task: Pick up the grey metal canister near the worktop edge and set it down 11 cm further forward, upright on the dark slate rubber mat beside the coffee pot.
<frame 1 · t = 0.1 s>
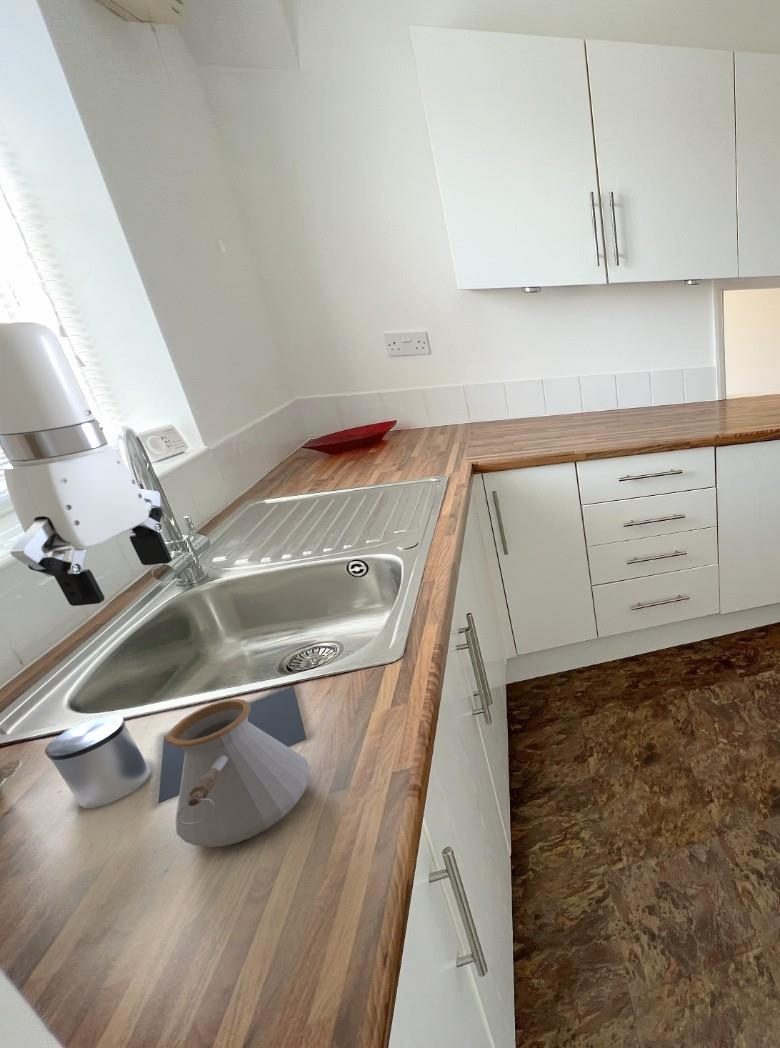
hand: (125, 582, 69), 21 cm above the worktop, tool pointing down, fingers open, 9 cm apart
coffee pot: (256, 846, 60), on the worktop
canister: (117, 788, 68), on the worktop
mat: (235, 739, 74), on the worktop
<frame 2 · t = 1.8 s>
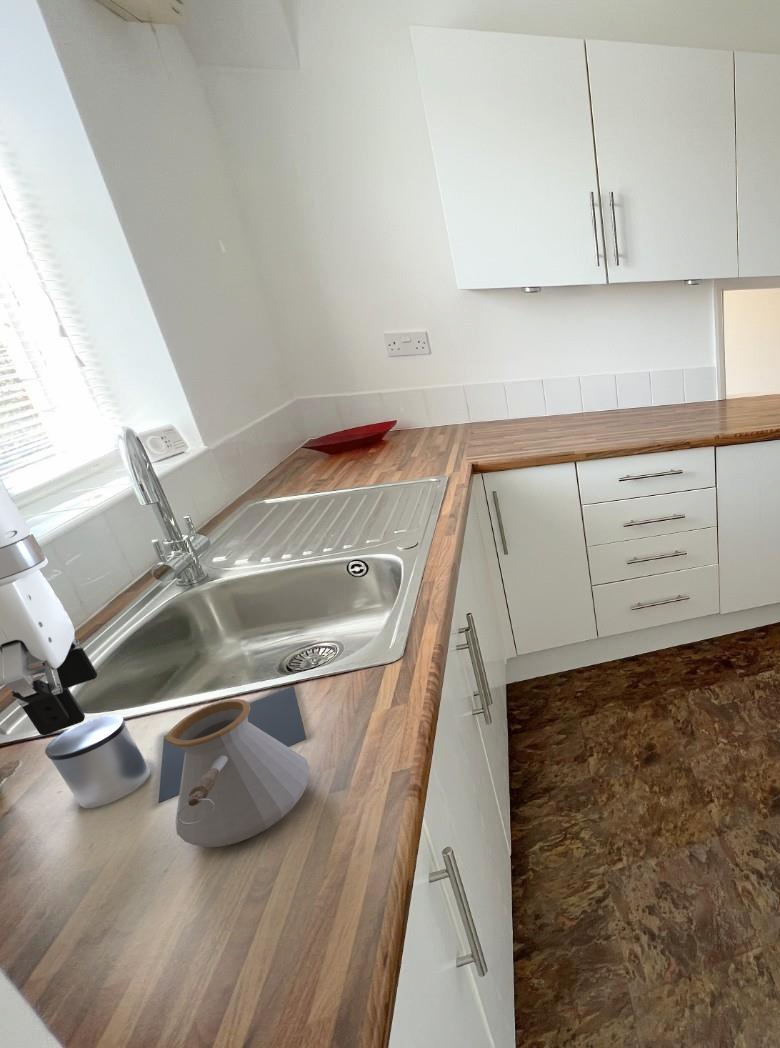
hand: (72, 703, 63), 12 cm above the worktop, tool pointing down, fingers open, 9 cm apart
nothing on the worktop moved.
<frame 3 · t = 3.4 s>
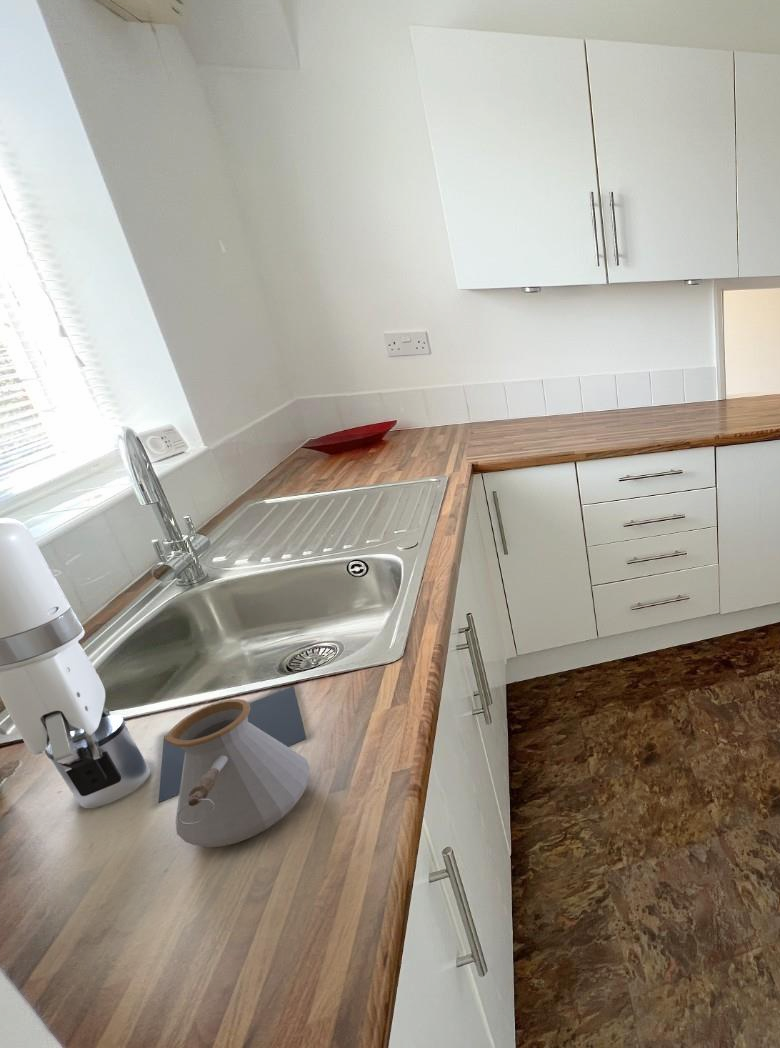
hand: (105, 768, 66), 3 cm above the worktop, tool pointing down, fingers closed on canister, 6 cm apart
canister: (117, 788, 68), on the worktop, touching gripper
everything else where it was.
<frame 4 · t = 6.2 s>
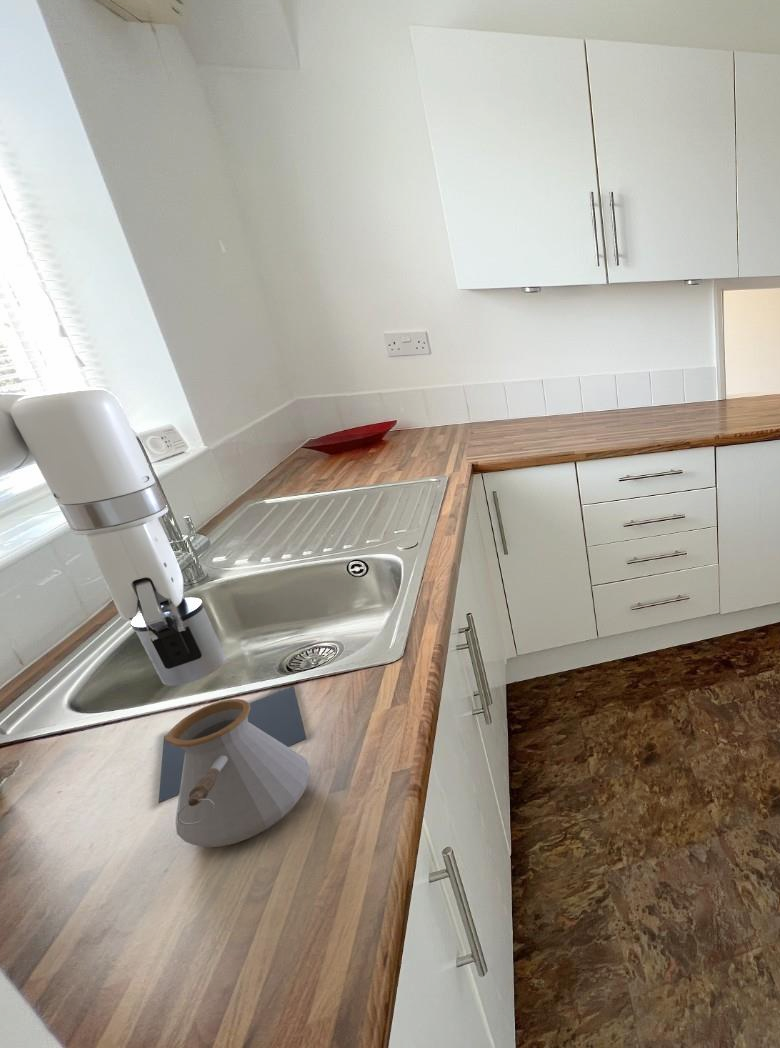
hand: (184, 648, 68), 14 cm above the worktop, tool pointing down, fingers closed on canister, 6 cm apart
canister: (195, 669, 69), point 11 cm above the worktop, touching gripper
everything else where it was.
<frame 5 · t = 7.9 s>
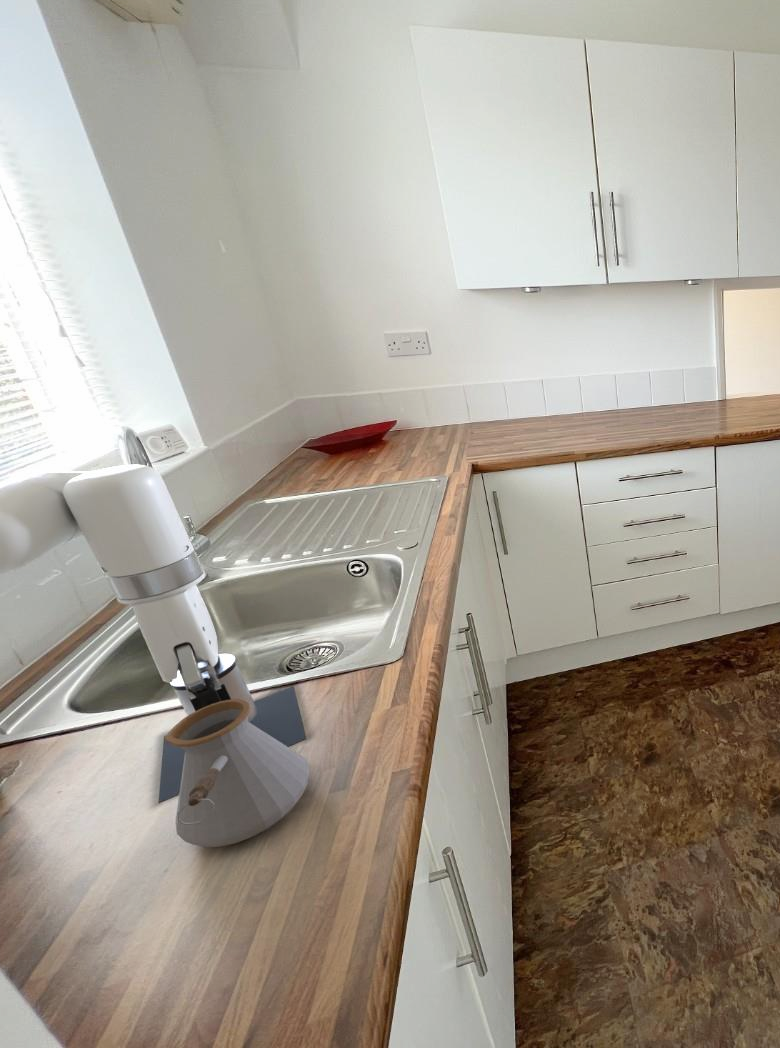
hand: (218, 702, 72), 6 cm above the worktop, tool pointing down, fingers closed on canister, 6 cm apart
canister: (228, 721, 73), point 3 cm above the worktop, touching gripper
everything else where it was.
when the fingers open (3 cm above the worktop, at t = 9.1 s): canister stays where it is, resting on mat.
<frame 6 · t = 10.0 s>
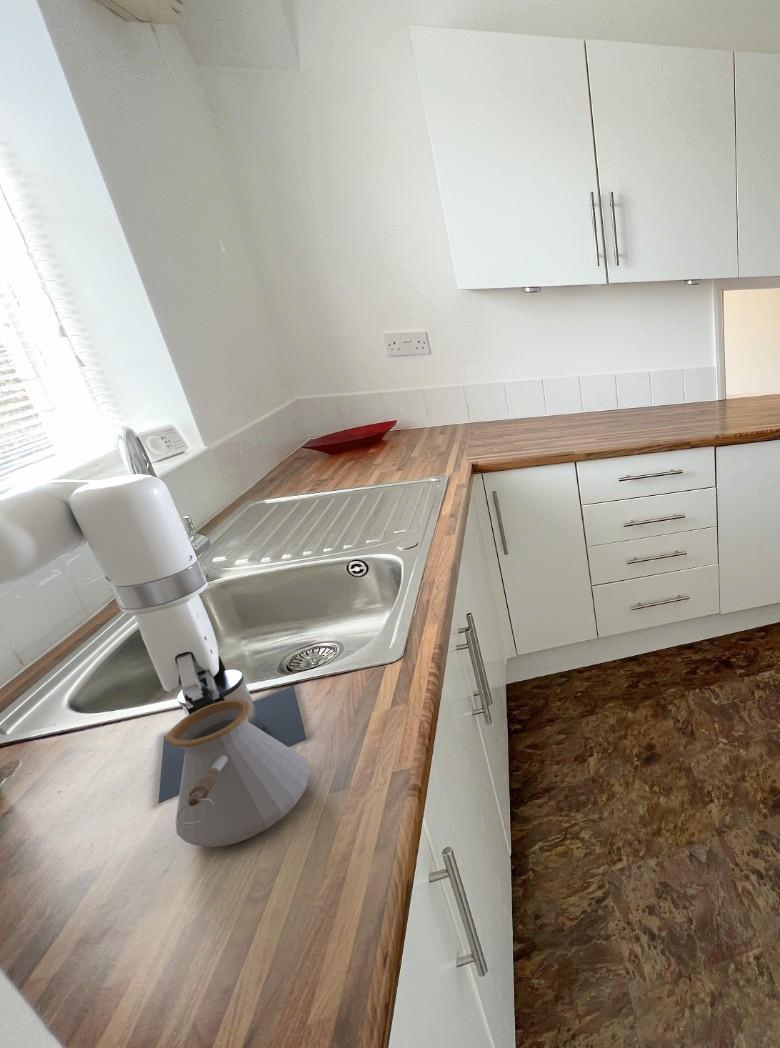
hand: (216, 706, 72), 5 cm above the worktop, tool pointing down, fingers open, 9 cm apart
canister: (234, 737, 74), resting on mat
everything else where it was.
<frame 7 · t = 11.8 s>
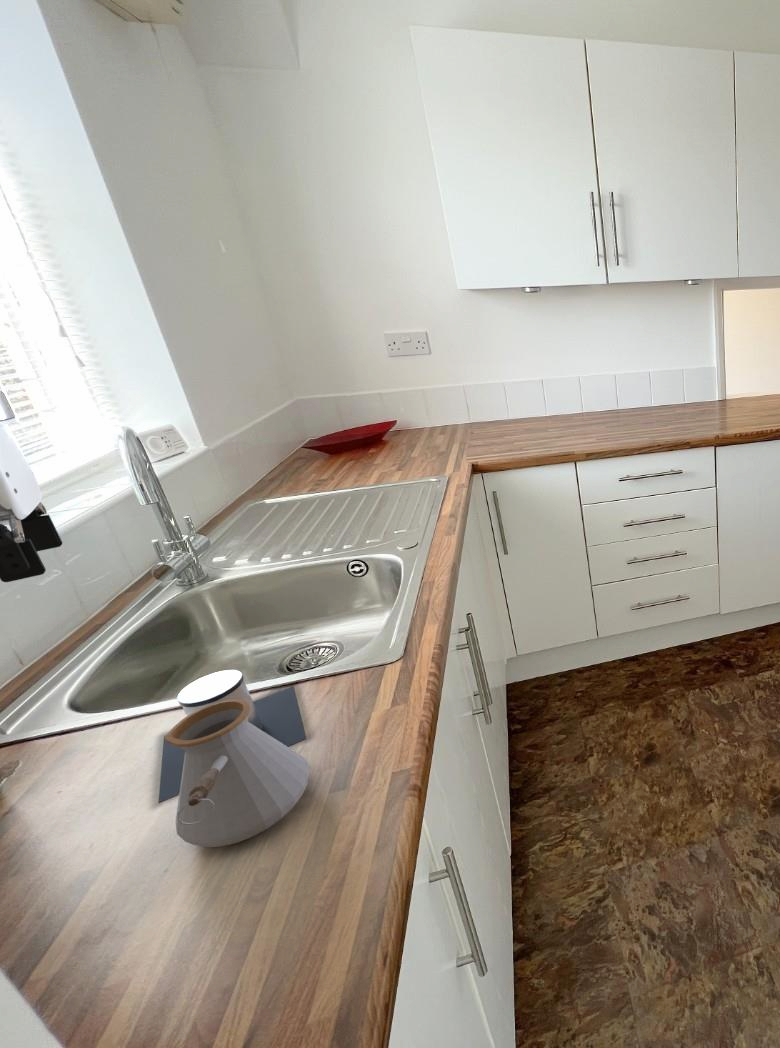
hand: (35, 562, 66), 25 cm above the worktop, tool pointing down, fingers open, 9 cm apart
nothing on the worktop moved.
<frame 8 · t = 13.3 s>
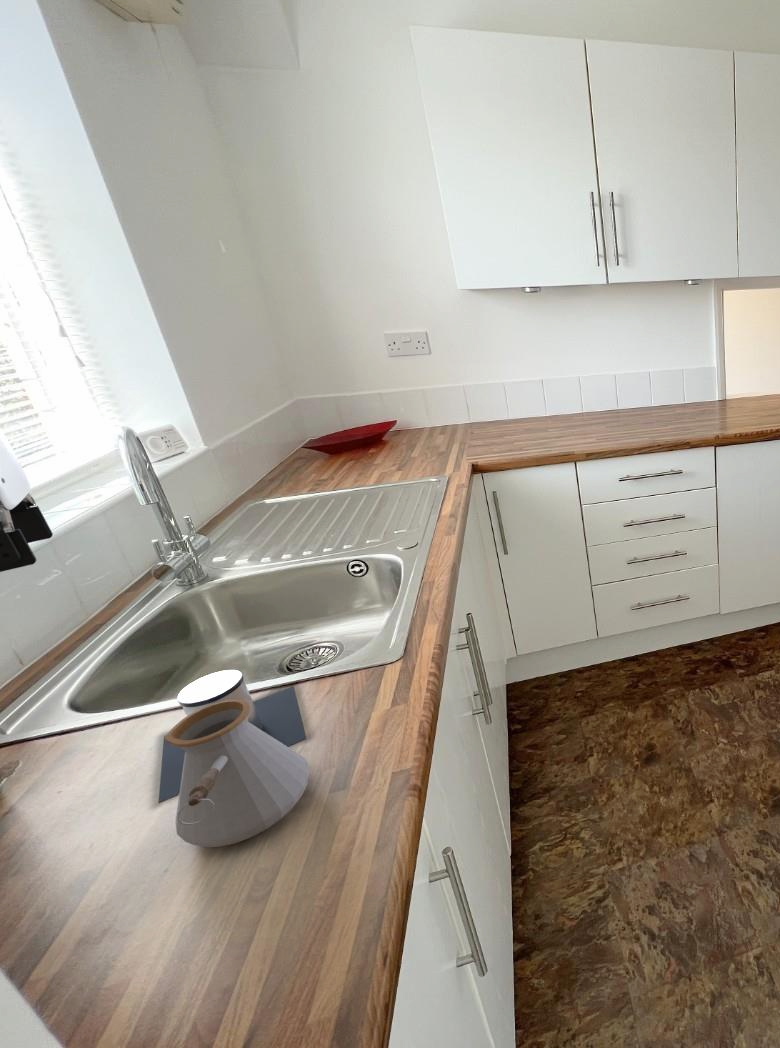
hand: (25, 553, 66), 26 cm above the worktop, tool pointing down, fingers open, 9 cm apart
nothing on the worktop moved.
at the end: canister 0.0 cm from the target spot, resting on mat; canister tilted 0°; canister moved 11.0 cm from its start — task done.
